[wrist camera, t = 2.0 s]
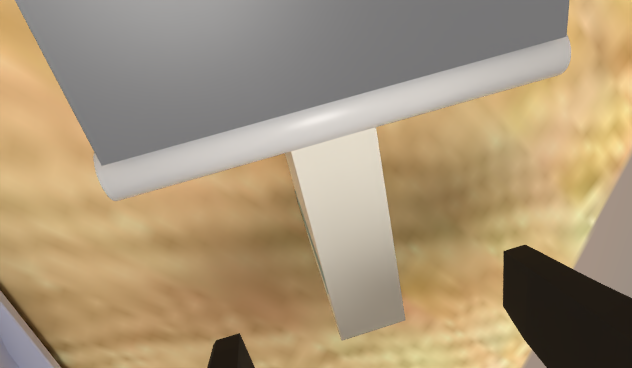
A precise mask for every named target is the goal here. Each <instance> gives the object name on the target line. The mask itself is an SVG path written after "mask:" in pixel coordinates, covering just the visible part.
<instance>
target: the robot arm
mask: <svg viewBox="0 0 632 368" xmlns="http://www.w3.org/2000/svg"><path fill="white" fill-rule="evenodd" d="M503 307H504V308H505V310H506V311H507V313H508V315H509V316H510V318H511V320H512V321H513V323H514V324H515V326H516V327H517V329H518V331H519V332H520V334H521V335H522V337H523V338H524V340H525V341H526V342H527V344H528V345H529V346H530V347H531V349H532V350H533V351H534V352H535V354H536V355H537V356H538V357H539V358H540V360H541V361H542V362H543V363H544V365H545V366H546V367H547V368H632V298H630V297H628V296H626V295H624V294H621V293H620V292H617V291H615V290H613V289H611V288H609V287H607V286H605V285H603V284H601V283H599V282H597V281H595V280H593V279H591V278H589V277H587V276H585V275H583V274H581V273H579V272H577V271H575V270H573V269H571V268H569V267H568V266H566V265H564V264H562V263H560V262H558V261H556V260H554V259H552V258H550V257H548V256H546V255H544V254H543V253H541V252H539V251H537V250H535V249H533V248H531V247H529V246H527V245H522V246H519V247H516V248H513V249H510V250H506V251H504V270H503ZM0 368H61V367H60V365H59V364H58V363H57V362H56V360H55V359H54V358H53V357H52V355H51V354H50V353H49V352H48V350H47V349H46V348H45V346H44V345H43V344H42V343H41V341H40V340H39V339H38V338H37V336H36V335H35V334H34V333H33V331H32V330H31V329H30V327H29V326H28V325H27V324H26V322H25V321H24V320H23V319H22V317H21V316H20V315H19V314H18V312H17V311H16V310H15V308H14V307H13V306H12V305H11V303H10V302H9V301H8V300H7V298H6V297H5V296H4V294H3V293H2V292H1V291H0ZM207 368H255V367H254V365H253V363H252V360H251V358H250V356H249V353H248V351H247V349H246V347H245V344H244V342H243V340H242V337H241V335H240V333H239V334H236V335H232V336H229V337H226V338H223V339H219V340H216V342H215V343H214V345H213V349H212V352H211V356H210V360H209V364H208V367H207Z"/></svg>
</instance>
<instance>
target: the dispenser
mask: <svg viewBox="0 0 632 368" xmlns="http://www.w3.org/2000/svg"><path fill="white" fill-rule="evenodd" d="M15 1H16V3H17V5H18V7H19V9H20V11H21V13H22V15H23V17H24V18H25V20H26V22H27V24H28V26H29V28H30V30H31V32H32V34H33V36H34V38H35V39H36V41H37V43H38V45H39V47H40V49H41V51H42V53H43V55H44V57H45V59H46V60H47V62H48V64H49V66H50V68H51V70H52V72H53V74H54V76H55V78H56V80H57V81H58V83H59V85H60V87H61V89H62V91H63V93H64V95H65V97H66V99H67V101H68V102H69V104H70V106H71V108H72V110H73V112H74V114H75V116H76V118H77V120H78V122H79V123H80V125H81V127H82V129H83V131H84V133H85V135H86V137H87V139H88V141H89V142H90V144H91V146H92V148H93V150H94V166H95V170H96V174H97V177H98V180H99V182H100V184H101V186H102V188H103V190H104V191H105V193H106V194H107V196H108V197H109V198H110V199H112V200H113V201H119V200H122V199H126V198H129V197H133V196H136V195H140V194H143V193H147V192H150V191H154V190H157V189H161V188H164V187H168V186H171V185H175V184H178V183H182V182H185V181H189V180H192V179H196V178H199V177H203V176H206V175H210V174H213V173H217V172H220V171H224V170H227V169H231V168H234V167H238V166H241V165H245V164H249V163H252V162H256V161H259V160H263V159H266V158H270V157H273V156H277V155H280V154H284V153H287V152H291V151H294V150H298V149H301V148H305V147H308V146H312V145H315V144H319V143H322V142H326V141H329V140H333V139H336V138H340V137H343V136H347V135H350V134H354V133H357V132H361V131H364V130H368V129H371V128H375V127H378V126H382V125H385V124H389V123H392V122H396V121H399V120H403V119H406V118H410V117H414V116H417V115H421V114H424V113H428V112H431V111H435V110H438V109H442V108H445V107H449V106H452V105H456V104H459V103H463V102H466V101H470V100H473V99H477V98H480V97H484V96H487V95H491V94H494V93H498V92H501V91H505V90H508V89H512V88H515V87H519V86H522V85H526V84H529V83H533V82H536V81H540V80H543V79H547V78H550V77H554V76H557V75H560V74H562V73H563V72H564V71H565V70H566V69H567V67H568V65H569V62H570V58H571V46H570V41H569V38H568V36H567V23H568V10H569V0H15Z"/></svg>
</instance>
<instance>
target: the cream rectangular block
mask: <svg viewBox="0 0 632 368" xmlns="http://www.w3.org/2000/svg"><path fill="white" fill-rule="evenodd" d="M285 156H286V159H287V163H288V167H289V170H290V174H291V177H292V181H293V185H294V188H295V193H296V197H297V201H298V204H299V208H300V211H301V214H302V217H303V221H304V224H305V228H306V232H307V235H308V239H309V242H310V245H311V248H312V251H313V254H314V257H315V260H316V263H317V266H318V269H319V272H320V275H321V278H322V282H323V285H324V288H325V291H326V294H327V297H328V300H329V303H330V306H331V309H332V312H333V315H334V318H335V321H336V324H337V327H338V331H339V334H340V337H341V340H345V339H348V338H352V337H355V336H358V335H361V334H364V333H367V332H370V331H373V330H377V329H380V328H383V327H386V326H389V325H392V324H395V323H398V322H401V321H405V314H404V307H403V301H402V294H401V288H400V281H399V275H398V268H397V262H396V255H395V249H394V242H393V235H392V229H391V222H390V216H389V209H388V203H387V196H386V190H385V183H384V177H383V170H382V163H381V157H380V150H379V144H378V137H377V131H376V127H375V128H371V129H368V130H364V131H361V132H357V133H354V134H350V135H347V136H343V137H340V138H336V139H333V140H329V141H326V142H322V143H319V144H315V145H312V146H308V147H305V148H301V149H298V150H294V151H291V152H287V153H285Z"/></svg>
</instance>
